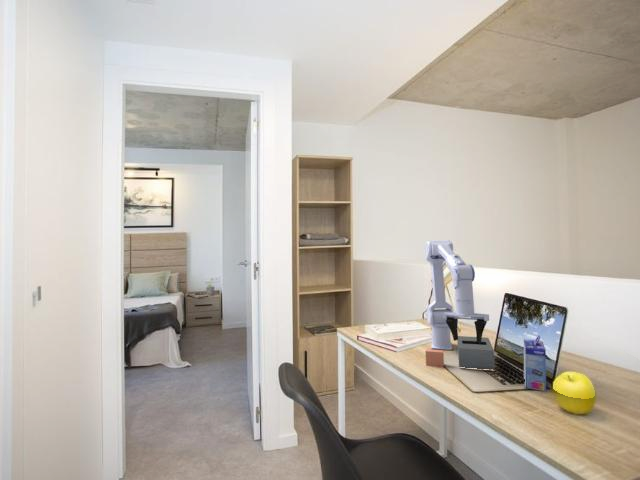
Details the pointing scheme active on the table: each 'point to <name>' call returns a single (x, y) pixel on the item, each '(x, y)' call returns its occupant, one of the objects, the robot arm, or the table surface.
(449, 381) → the table surface
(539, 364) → the ink cartridge box
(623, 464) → the table surface
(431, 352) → the reddish brown block
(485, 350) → the money box
